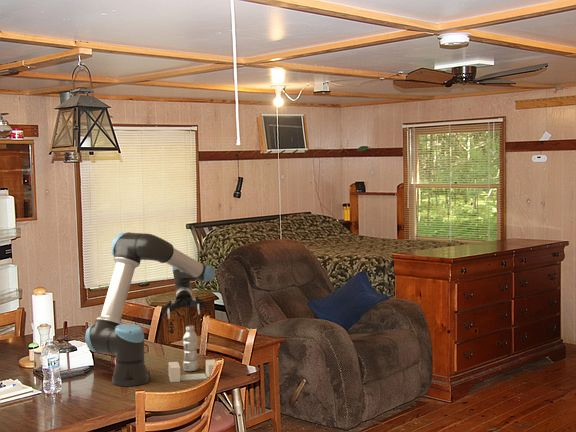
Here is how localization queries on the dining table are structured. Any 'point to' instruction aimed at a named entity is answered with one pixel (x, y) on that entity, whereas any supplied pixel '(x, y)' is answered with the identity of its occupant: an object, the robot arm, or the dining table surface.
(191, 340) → the plastic bottle
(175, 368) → the gap blocks
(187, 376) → the gap mat
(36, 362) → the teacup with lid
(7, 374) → the dining table surface
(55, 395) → the dining table surface
